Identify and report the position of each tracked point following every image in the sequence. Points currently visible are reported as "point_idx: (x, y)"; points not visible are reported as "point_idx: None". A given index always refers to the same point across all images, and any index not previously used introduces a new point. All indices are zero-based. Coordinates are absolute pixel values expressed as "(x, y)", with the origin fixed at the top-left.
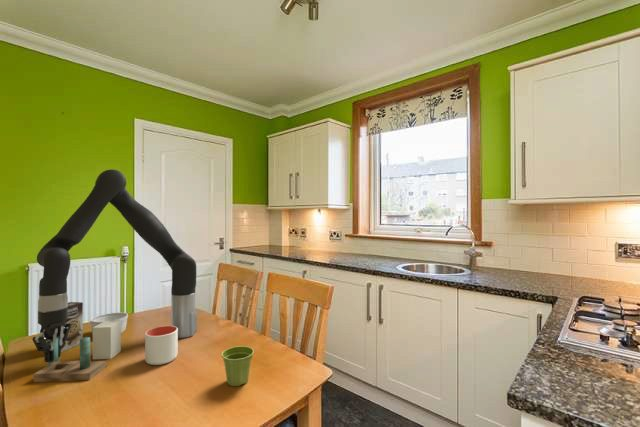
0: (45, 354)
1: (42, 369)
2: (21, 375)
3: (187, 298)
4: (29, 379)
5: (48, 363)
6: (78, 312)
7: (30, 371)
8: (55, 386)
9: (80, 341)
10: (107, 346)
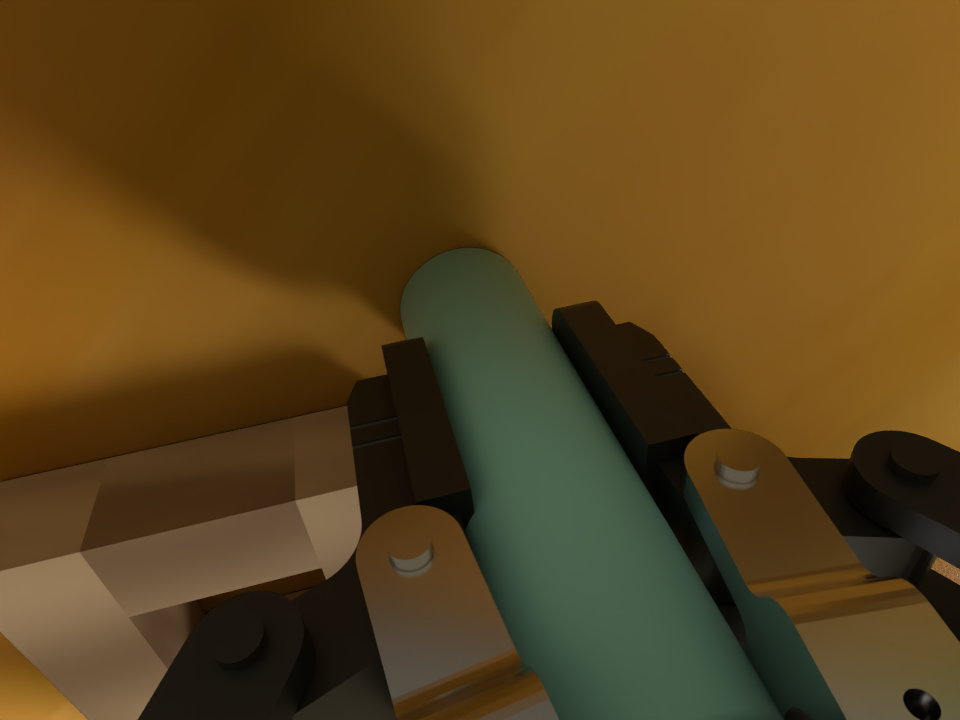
0: (364, 498)
1: (119, 559)
2: (61, 73)
3: None
4: (24, 361)
5: (413, 337)
6: None
7: (247, 95)
8: (46, 712)
9: None
10: None
